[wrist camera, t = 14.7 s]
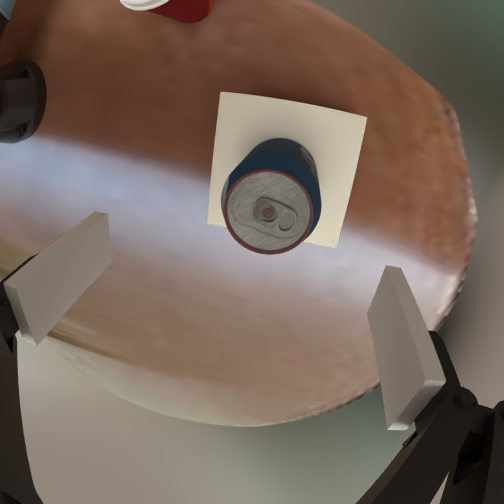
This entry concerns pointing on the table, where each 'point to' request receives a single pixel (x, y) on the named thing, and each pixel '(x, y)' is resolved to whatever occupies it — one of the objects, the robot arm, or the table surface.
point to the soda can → (272, 197)
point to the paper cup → (174, 8)
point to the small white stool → (301, 131)
